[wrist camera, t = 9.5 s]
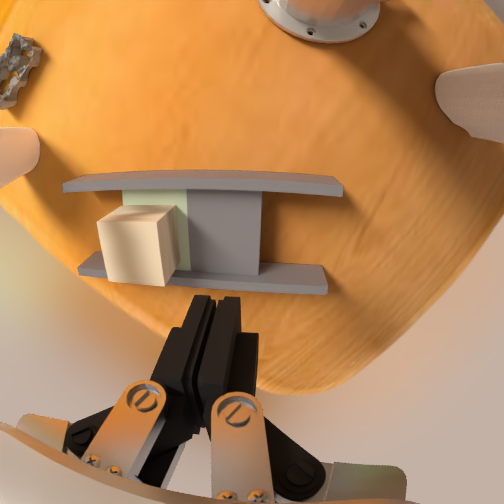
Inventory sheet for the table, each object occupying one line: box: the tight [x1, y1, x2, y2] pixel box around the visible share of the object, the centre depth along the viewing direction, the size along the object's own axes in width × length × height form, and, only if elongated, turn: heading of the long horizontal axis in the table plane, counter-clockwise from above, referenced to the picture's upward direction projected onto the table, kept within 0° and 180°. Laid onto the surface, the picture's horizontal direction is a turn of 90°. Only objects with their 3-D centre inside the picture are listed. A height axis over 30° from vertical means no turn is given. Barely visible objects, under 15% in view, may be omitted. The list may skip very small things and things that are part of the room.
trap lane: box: [62, 170, 344, 295], centre depth 28 cm, size 28×11×4 cm, turn 88°
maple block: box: [97, 205, 180, 287], centre depth 25 cm, size 6×6×5 cm
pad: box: [122, 189, 191, 271], centre depth 29 cm, size 7×9×3 cm
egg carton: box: [0, 33, 42, 110], centre depth 20 cm, size 11×8×4 cm
